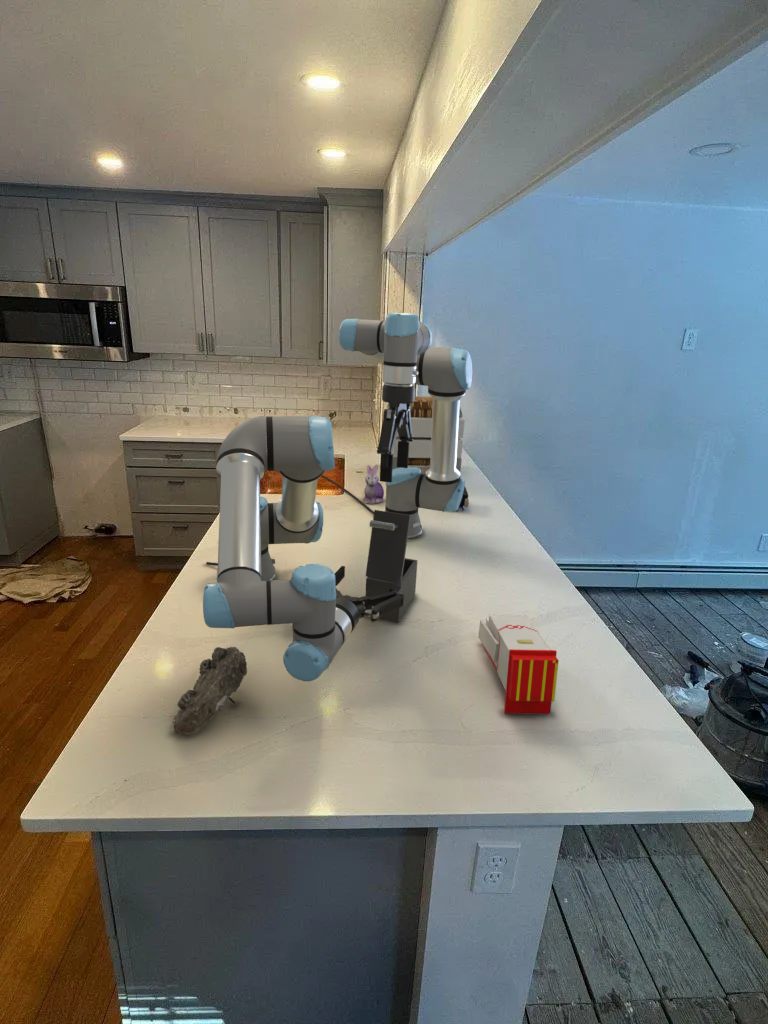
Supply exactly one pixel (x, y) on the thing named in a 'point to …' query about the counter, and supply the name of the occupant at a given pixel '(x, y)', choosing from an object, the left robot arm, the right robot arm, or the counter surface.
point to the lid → (387, 545)
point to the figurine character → (464, 500)
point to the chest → (407, 589)
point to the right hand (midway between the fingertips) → (394, 474)
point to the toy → (521, 662)
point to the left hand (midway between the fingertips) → (371, 576)
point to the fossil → (211, 689)
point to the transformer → (424, 434)
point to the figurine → (373, 486)
